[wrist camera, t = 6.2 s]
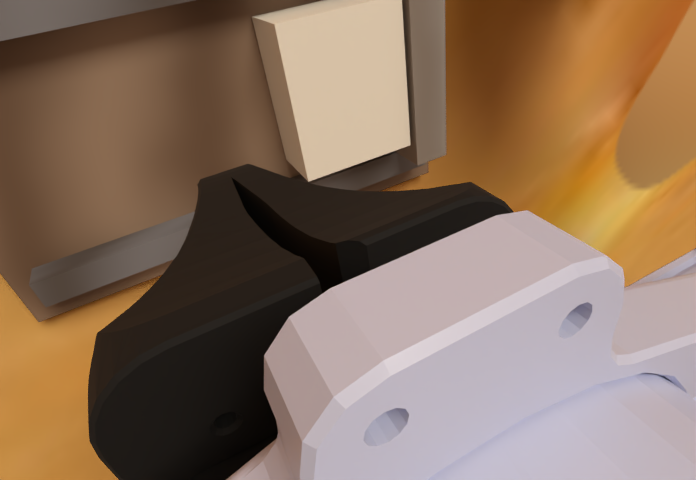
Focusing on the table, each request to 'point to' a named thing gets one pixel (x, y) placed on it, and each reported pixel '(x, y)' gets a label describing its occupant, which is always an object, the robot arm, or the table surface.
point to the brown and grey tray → (154, 132)
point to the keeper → (336, 81)
